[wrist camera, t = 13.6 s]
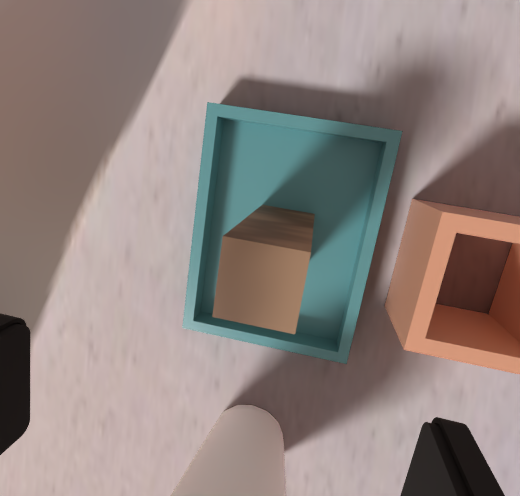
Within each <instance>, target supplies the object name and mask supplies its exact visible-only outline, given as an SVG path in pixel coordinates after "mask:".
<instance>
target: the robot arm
mask: <svg viewBox="0 0 520 496" xmlns="http://www.w3.org/2000/svg"><path fill="white" fill-rule="evenodd" d="M29 422H30V330H29V328H28V327H27V326H26V323H25V321H24V320H23V319H21V318H17V317H13V316H9V315H4V314H0V455H1V454H2V453H3V452H4V451H5V450H6V449H8V448H9V447H10V446H11V445H12V444H13V443H14V442H15V441H16V440H18V439H19V438H20V437H21V436H22V435H23V434H24V432H25V431H26V429H27V427H28V425H29ZM401 496H505V495H504V493H503V492H502V490H501V488H500V486H499V484H498V482H497V480H496V479H495V477H494V475H493V473H492V471H491V469H490V467H489V466H488V464H487V462H486V460H485V458H484V456H483V454H482V453H481V451H480V449H479V447H478V445H477V443H476V441H475V440H474V438H473V436H472V434H471V432H470V430H469V428H468V427H467V426H466V425H465V424H463V423H459V422H455V421H450V420H446V419H442V418H438V417H436V418H434V419H433V421H432V423H428V422H425V423H424V424H423V426H422V428H421V432H420V435H419V438H418V441H417V444H416V448H415V451H414V454H413V457H412V461H411V464H410V467H409V470H408V473H407V477H406V480H405V483H404V486H403V490H402V493H401Z"/></svg>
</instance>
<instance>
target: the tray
mask: <svg viewBox="0 0 520 496" xmlns="http://www.w3.org/2000/svg"><path fill="white" fill-rule="evenodd" d="M401 135H402V131H399V130H392V129H385V128H379V127H372V126H365V125H358V124H351V123H345V122H338V121H331V120H324V119H318V118H311V117H304V116H297V115H290V114H284V113H277V112H270V111H263V110H257V109H250V108H243V107H236V106H229V105H223V104H216V103H209V102H207V111H206V120H205V129H204V138H203V147H202V156H201V165H200V174H199V183H198V192H197V201H196V210H195V219H194V228H193V237H192V246H191V255H190V264H189V273H188V282H187V291H186V300H185V309H184V318H183V327H182V328H185V329H189V330H194V331H198V332H203V333H208V334H212V335H217V336H221V337H226V338H230V339H235V340H239V341H244V342H248V343H253V344H258V345H262V346H267V347H271V348H276V349H280V350H285V351H289V352H294V353H299V354H303V355H308V356H312V357H317V358H321V359H326V360H330V361H335V362H339V363H344V364H347V360H348V356H349V352H350V348H351V343H352V339H353V335H354V331H355V327H356V323H357V318H358V314H359V310H360V306H361V302H362V298H363V293H364V289H365V285H366V281H367V277H368V273H369V268H370V264H371V260H372V256H373V252H374V248H375V243H376V239H377V235H378V231H379V227H380V223H381V218H382V214H383V210H384V206H385V202H386V198H387V193H388V189H389V185H390V181H391V177H392V173H393V168H394V164H395V160H396V156H397V152H398V148H399V144H400V139H401ZM261 205H267V206H273V207H278V208H284V209H290V210H296V211H301V212H307V213H313V214H315V216H314V226H313V237H312V247H311V255H310V260H309V265H308V270H307V275H306V281H305V286H304V291H303V296H302V301H301V307H300V312H299V317H298V322H297V327H296V332H295V334H291V333H286V332H281V331H276V330H272V329H267V328H262V327H257V326H253V325H248V324H243V323H239V322H234V321H229V320H224V319H220V318H215V317H212V315H213V308H214V300H215V292H216V284H217V277H218V269H219V261H220V254H221V246H222V238H223V235H225V234H226V233H227V232H229V231H230V230H231V229H232V228H234V227H235V226H236V225H237V224H239V223H240V222H241V221H242V220H244V219H245V218H246V217H247V216H249V215H250V214H251V213H252V212H254V211H255V210H256V209H258V208H259V207H260V206H261Z"/></svg>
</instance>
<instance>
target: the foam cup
mask: <svg viewBox="0 0 520 496" xmlns="http://www.w3.org/2000/svg"><path fill="white" fill-rule="evenodd" d="M171 496H286V479H285V457H284V440H283V433H282V431H281V428H280V425H279V423H278V421H277V420H276V419H275V418H274V417H273V416H272V415H271V414H270V413H269V412H268V411H266V410H263V409H261V408H258V407H256V406H254V405H236V406H234V407H232V408H229V409H227V410H225V411H224V412H223V413H222V415H221V416H220V417H219V419H218V420H217V421H216V423H215V425H214V426H213V428H212V429H211V431H210V432H209V434H208V436H207V437H206V439H205V441H204V442H203V444H202V445H201V447H200V449H199V450H198V452H197V454H196V455H195V457H194V458H193V460H192V462H191V463H190V465H189V466H188V468H187V470H186V471H185V473H184V475H183V476H182V478H181V479H180V481H179V483H178V484H177V486H176V488H175V489H174V491H173V492H172V494H171Z"/></svg>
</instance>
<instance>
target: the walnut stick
mask: <svg viewBox="0 0 520 496" xmlns="http://www.w3.org/2000/svg"><path fill="white" fill-rule="evenodd" d="M314 216H315V214H313V213H307V212H301V211H296V210H290V209H284V208H278V207H273V206H267V205H261V206H260V207H259V208H258V209H256V210H255V211H254V212H252V213H251V214H250V215H249V216H247V217H246V218H245V219H244V220H242V221H241V222H240V223H239V224H237V225H236V226H235V227H234V228H232V229H231V230H230V231H229V232H227V233H226V234H225V235H223V238H222V246H221V254H220V261H219V269H218V277H217V284H216V292H215V300H214V308H213V315H212V317H215V318H220V319H224V320H229V321H234V322H239V323H243V324H248V325H253V326H257V327H262V328H267V329H272V330H276V331H281V332H286V333H291V334H295V332H296V327H297V322H298V317H299V312H300V307H301V301H302V296H303V291H304V286H305V281H306V275H307V270H308V265H309V260H310V255H311V247H312V237H313V226H314Z"/></svg>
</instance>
